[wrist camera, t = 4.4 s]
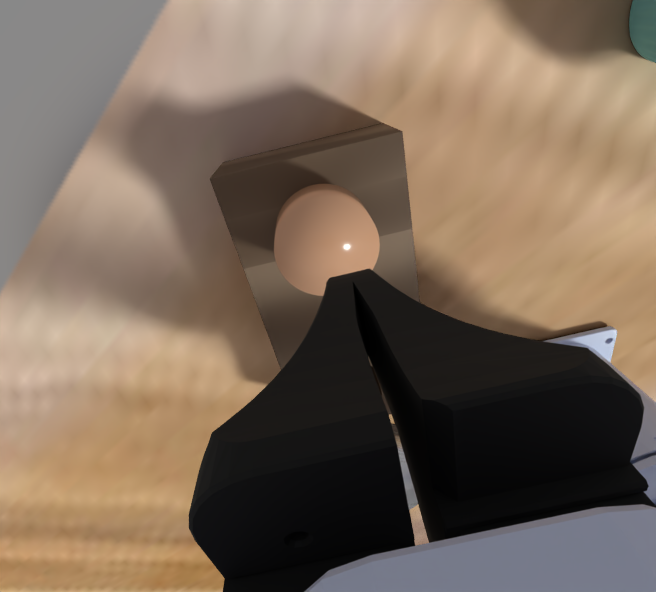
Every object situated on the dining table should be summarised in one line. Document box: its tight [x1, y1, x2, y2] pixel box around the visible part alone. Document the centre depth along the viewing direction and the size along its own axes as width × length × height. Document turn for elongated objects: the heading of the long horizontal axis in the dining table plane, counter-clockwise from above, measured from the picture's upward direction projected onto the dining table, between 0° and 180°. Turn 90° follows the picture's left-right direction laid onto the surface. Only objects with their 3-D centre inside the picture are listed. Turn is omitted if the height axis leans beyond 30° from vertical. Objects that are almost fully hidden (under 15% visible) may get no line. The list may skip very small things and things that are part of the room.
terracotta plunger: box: [274, 184, 380, 296], centre depth 17 cm, size 4×4×6 cm
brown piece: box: [210, 123, 420, 415], centre depth 20 cm, size 16×8×4 cm, turn 12°
